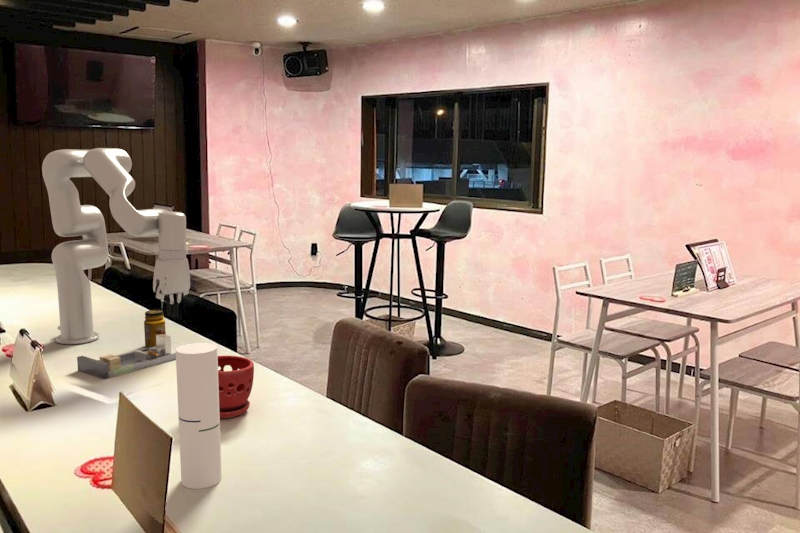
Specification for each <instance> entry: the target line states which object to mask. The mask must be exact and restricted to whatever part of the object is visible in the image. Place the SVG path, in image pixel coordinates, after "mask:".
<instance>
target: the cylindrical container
mask: <svg viewBox="0 0 800 533" xmlns="http://www.w3.org/2000/svg"><path fill="white" fill-rule="evenodd" d="M175 353H176V359H175V364H176V365H175V366H176V367H175V368H176V387H177V388H176V389H177V409H178V413H177V414H178V433H179V435H178V436H179V456H180V457H179V458H180V459H179V460H180V483H181V485H182V486H183V487H185V488H186V489H187V488H188V489H192V490H202V489H207V488H210V487H214V486H216V485H217V484H219V483H220V482H221V480H222V478H223V477H222V476H223V475H222V457H221V456H222V455H221V453H222V451H221V450H222V448H221V446H222V445H221V421H220V420H221V418H220V414H219V384H218V370H219V367H218V356H219V355H218V346H217V345H216V344H214V343H210V342H195V343H188V344H183V345H180V346H177V347H176V348H175Z"/></svg>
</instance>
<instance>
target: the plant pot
mask: <svg viewBox="0 0 800 533" xmlns="http://www.w3.org/2000/svg"><path fill="white" fill-rule="evenodd" d="M254 365H255V363H254V362H253V361H252V359H249V358H247V357H243V356H238V355H218V368H220V369H218V384H219V414H220V419H228V418H234V417H237V416H238V417H239V416H240V415H242V414H244V413H245V412H246V411H247V410H249V408H250V405H251V403H250V401H249V400H248V399H249V398H250V396H251V392H252V390H253V384H254V375H255V373H254V372H255V368H254V367H255V366H254ZM226 366H230V367H231V370H225V369H224V368H225V367H226ZM224 370H225V371H224Z"/></svg>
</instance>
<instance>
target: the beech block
mask: <svg viewBox="0 0 800 533" xmlns="http://www.w3.org/2000/svg"><path fill="white" fill-rule="evenodd" d="M99 360H100V361H101V362H105V363H108V368H109V371H110V370H113V369H117V368H121V359H120V357H118V356H116V355H114V354H111V353H110V354H105V355H100V356H99Z"/></svg>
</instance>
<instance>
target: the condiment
mask: <svg viewBox="0 0 800 533" xmlns="http://www.w3.org/2000/svg"><path fill="white" fill-rule="evenodd" d="M143 325H144V326H143V328H144V329H143V330H144V332H143V333H144V347H145V348H148V347H152V346H156V335H160V334H164V335H167V334H166V320H165V319H164V311H163V310H162V309H151V310H146V311H145V313H144V321H143ZM156 349H157V346H156Z"/></svg>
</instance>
